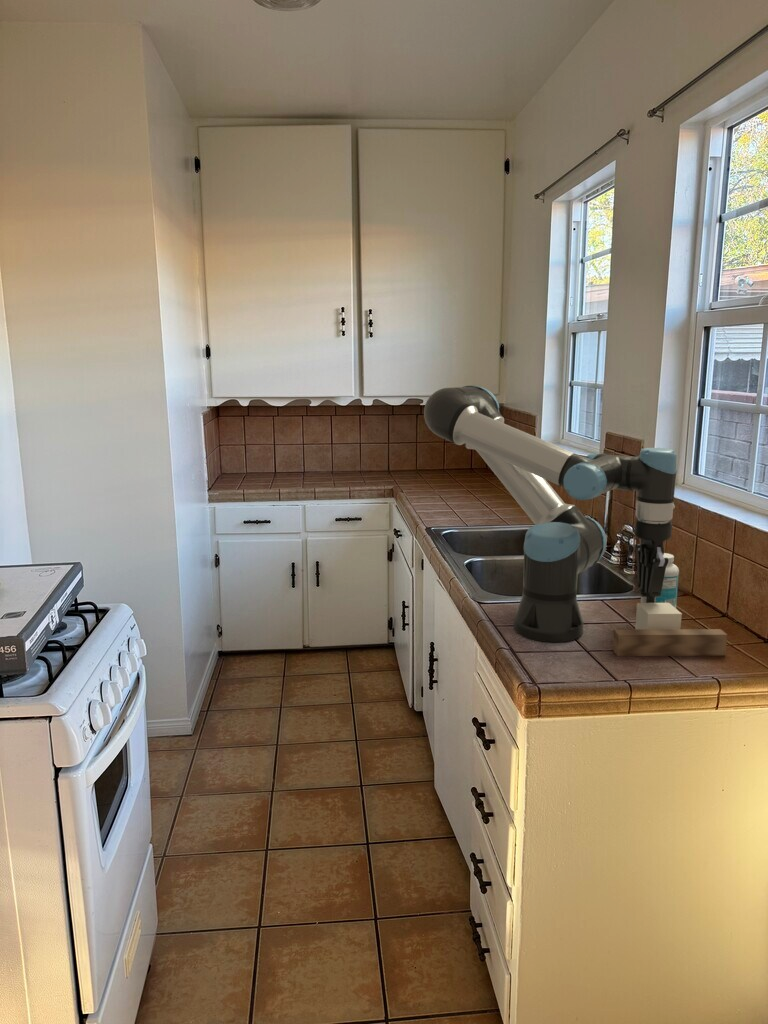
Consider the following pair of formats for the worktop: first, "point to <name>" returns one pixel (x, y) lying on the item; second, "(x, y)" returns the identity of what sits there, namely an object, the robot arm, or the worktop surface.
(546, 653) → the worktop surface
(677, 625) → the block
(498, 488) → the worktop surface
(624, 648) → the board
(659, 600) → the pill bottle
